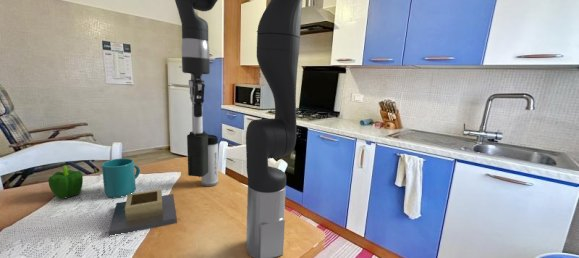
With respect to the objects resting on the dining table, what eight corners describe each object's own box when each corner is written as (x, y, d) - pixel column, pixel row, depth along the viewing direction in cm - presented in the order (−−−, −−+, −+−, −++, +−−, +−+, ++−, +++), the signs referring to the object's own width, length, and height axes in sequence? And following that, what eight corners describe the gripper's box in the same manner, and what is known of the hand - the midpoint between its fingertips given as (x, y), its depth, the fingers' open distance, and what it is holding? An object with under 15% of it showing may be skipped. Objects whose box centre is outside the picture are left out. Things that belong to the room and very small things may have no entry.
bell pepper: (79, 199, 80) (75, 170, 78) (46, 202, 76) (41, 173, 74) (88, 188, 87) (85, 162, 85) (59, 191, 84) (55, 163, 82)
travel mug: (200, 181, 98) (199, 133, 94) (216, 179, 101) (216, 132, 97) (201, 187, 93) (200, 137, 89) (219, 185, 95) (219, 136, 91)
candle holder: (176, 222, 70) (176, 205, 69) (108, 237, 62) (106, 217, 61) (173, 198, 84) (172, 183, 83) (117, 207, 76) (115, 191, 75)
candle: (209, 171, 79) (208, 94, 74) (202, 177, 74) (201, 95, 69) (194, 169, 80) (192, 93, 75) (186, 175, 75) (184, 94, 70)
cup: (149, 186, 91) (147, 158, 89) (116, 201, 80) (113, 168, 78) (131, 182, 94) (129, 154, 92) (98, 195, 83) (95, 164, 81)
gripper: (214, 56, 66) (214, 119, 69) (205, 59, 78) (205, 112, 81) (184, 54, 62) (186, 120, 66) (179, 57, 74) (181, 112, 78)
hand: (197, 115), depth 73 cm, fingers closed on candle, 3 cm apart
